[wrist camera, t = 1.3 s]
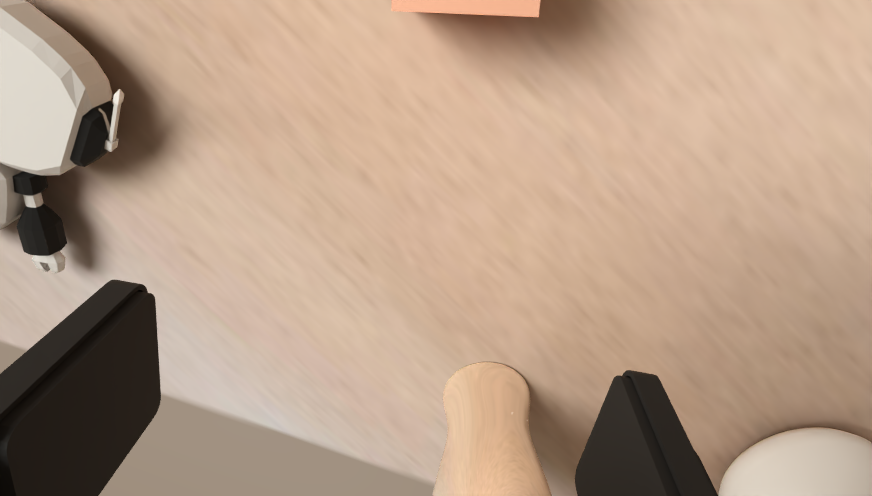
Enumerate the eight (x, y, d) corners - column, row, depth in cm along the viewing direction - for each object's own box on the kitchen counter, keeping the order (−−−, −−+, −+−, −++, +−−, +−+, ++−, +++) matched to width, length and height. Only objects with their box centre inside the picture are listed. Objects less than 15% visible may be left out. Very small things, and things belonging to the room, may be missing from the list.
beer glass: (507, 444, 41) (528, 676, 27) (421, 412, 40) (399, 636, 26) (554, 377, 38) (604, 599, 24) (462, 341, 37) (461, 551, 23)
